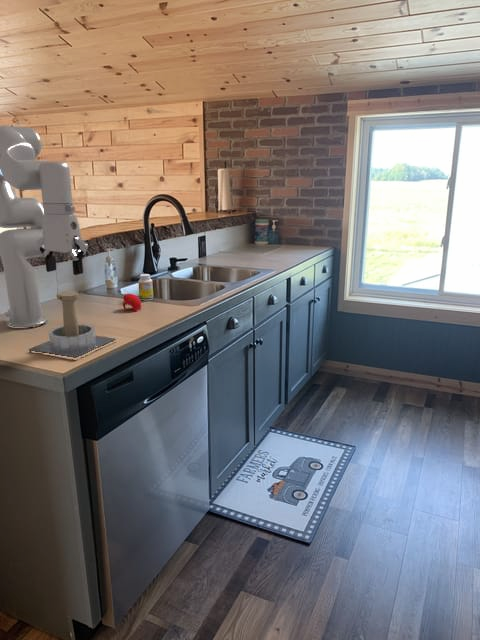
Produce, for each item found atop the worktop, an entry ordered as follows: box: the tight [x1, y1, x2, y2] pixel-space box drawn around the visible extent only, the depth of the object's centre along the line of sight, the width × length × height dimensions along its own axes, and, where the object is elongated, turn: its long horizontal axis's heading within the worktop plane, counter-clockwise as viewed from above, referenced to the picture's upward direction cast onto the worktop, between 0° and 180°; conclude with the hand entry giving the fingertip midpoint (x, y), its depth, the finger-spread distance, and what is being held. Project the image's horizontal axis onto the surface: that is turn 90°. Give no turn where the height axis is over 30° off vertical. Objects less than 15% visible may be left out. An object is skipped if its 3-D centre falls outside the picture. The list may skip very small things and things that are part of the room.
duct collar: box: [28, 323, 117, 358], centre depth 138 cm, size 17×17×5 cm
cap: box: [122, 293, 142, 312], centre depth 178 cm, size 8×6×6 cm
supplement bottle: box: [137, 273, 154, 302], centre depth 192 cm, size 6×6×10 cm
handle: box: [56, 290, 80, 336], centre depth 137 cm, size 5×6×15 cm
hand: (64, 272), depth 133 cm, fingers open, 9 cm apart
